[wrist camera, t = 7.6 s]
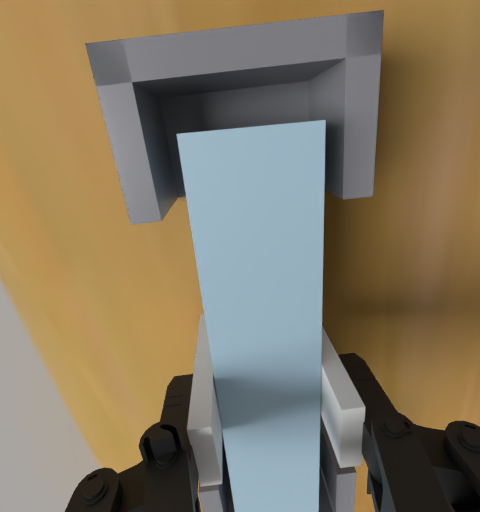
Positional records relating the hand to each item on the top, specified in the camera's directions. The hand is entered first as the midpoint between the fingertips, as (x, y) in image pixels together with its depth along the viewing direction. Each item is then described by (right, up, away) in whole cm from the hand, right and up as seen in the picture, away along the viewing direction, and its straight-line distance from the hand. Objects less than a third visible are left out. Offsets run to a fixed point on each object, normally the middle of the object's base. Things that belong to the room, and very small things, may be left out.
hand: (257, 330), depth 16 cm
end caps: (0, +1, +1) cm, 1 cm away
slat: (0, 0, +1) cm, 1 cm away
